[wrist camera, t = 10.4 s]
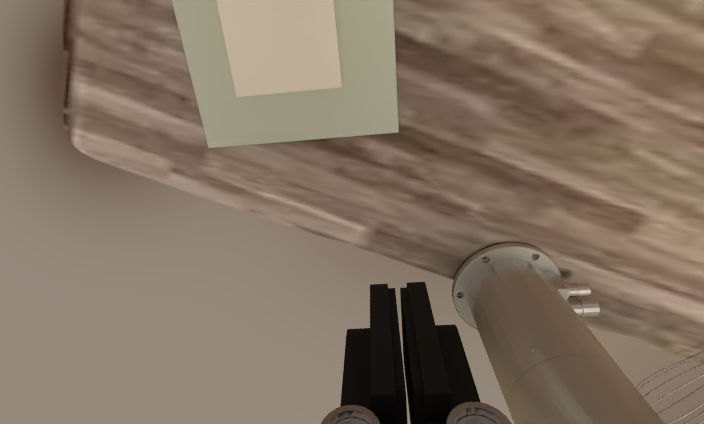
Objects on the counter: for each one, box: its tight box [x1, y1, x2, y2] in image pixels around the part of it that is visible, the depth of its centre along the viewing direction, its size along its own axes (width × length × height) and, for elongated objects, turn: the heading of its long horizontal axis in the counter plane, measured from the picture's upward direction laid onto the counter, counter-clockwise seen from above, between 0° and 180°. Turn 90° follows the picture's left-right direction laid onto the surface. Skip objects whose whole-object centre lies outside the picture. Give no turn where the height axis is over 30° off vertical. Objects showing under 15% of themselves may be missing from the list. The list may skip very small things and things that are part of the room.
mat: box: [172, 0, 399, 148], centre depth 34 cm, size 20×20×1 cm
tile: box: [216, 0, 343, 97], centre depth 33 cm, size 2×10×10 cm
